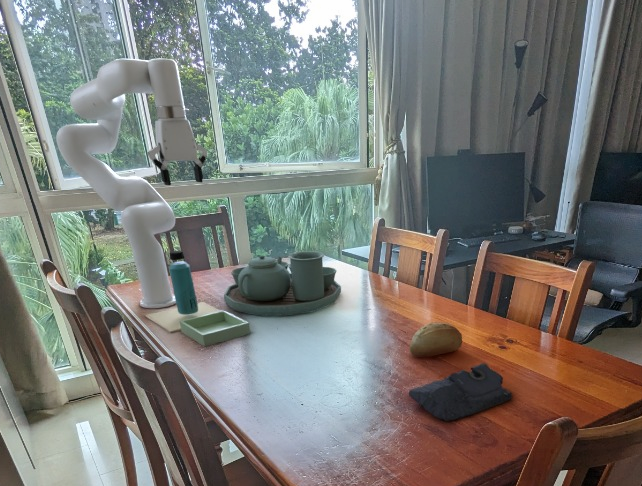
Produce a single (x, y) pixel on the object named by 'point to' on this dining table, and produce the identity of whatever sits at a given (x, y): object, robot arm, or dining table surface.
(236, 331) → the tray
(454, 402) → the folded black shirt
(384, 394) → the dining table surface
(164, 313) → the mat
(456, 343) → the bread roll
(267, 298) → the tea set
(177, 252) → the beverage bottle
